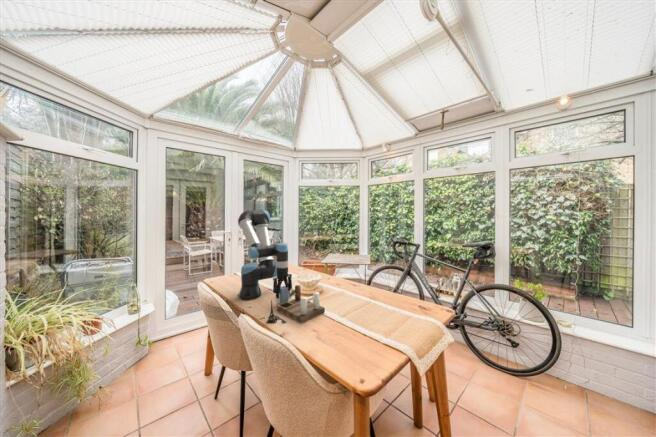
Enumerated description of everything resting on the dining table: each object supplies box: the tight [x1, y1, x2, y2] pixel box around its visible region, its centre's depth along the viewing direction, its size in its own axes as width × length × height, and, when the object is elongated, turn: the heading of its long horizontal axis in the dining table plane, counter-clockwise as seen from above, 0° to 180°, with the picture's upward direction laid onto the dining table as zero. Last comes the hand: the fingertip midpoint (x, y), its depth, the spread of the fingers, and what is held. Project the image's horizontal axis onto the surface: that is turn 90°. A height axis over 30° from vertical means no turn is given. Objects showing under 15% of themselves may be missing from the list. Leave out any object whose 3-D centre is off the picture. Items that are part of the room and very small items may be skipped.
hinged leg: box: [301, 291, 320, 315], centre depth 140 cm, size 14×4×9 cm, turn 137°
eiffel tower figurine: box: [258, 298, 288, 325], centre depth 135 cm, size 15×10×13 cm
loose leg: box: [277, 285, 289, 305], centre depth 157 cm, size 5×5×11 cm
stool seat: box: [276, 284, 326, 324], centre depth 146 cm, size 24×18×12 cm
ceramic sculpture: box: [284, 285, 295, 298], centre depth 172 cm, size 11×9×15 cm
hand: (283, 301), depth 158 cm, fingers open, 6 cm apart
